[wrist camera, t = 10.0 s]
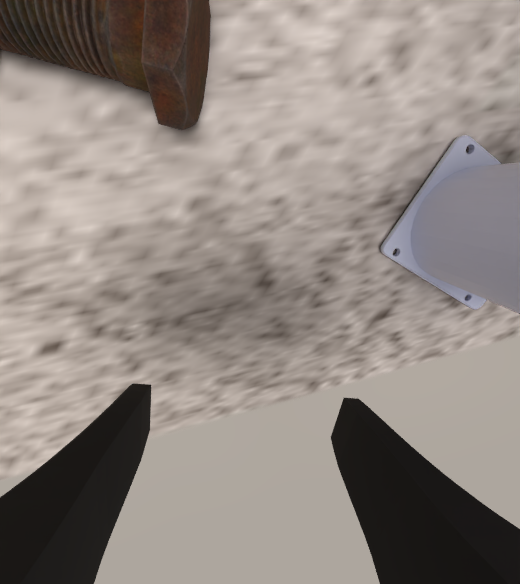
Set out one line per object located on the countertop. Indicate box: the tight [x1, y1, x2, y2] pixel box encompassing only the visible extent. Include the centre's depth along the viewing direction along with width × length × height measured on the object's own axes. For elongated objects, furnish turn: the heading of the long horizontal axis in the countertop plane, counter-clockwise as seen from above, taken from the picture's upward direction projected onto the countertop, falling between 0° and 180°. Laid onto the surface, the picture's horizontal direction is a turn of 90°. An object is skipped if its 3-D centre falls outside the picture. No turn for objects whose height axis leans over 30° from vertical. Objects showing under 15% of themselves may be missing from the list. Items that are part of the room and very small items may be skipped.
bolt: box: [0, 0, 211, 130], centre depth 11 cm, size 6×5×15 cm
